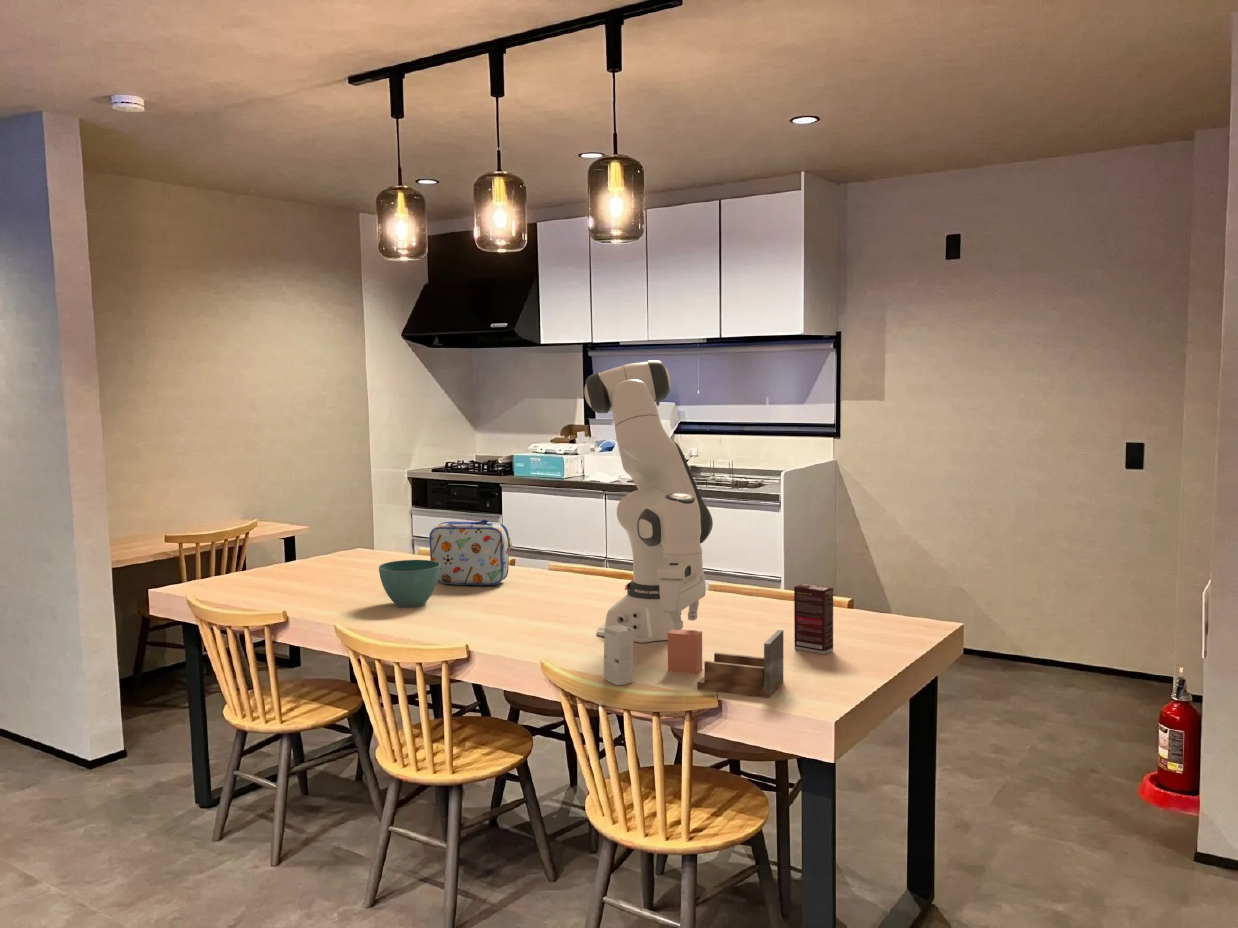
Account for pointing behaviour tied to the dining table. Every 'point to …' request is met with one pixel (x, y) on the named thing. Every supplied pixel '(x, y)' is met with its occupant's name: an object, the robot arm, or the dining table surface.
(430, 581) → the green bowl
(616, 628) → the skincare box
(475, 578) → the lunch box
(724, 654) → the book rack
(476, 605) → the dining table surface
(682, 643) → the red book
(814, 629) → the supplement box
